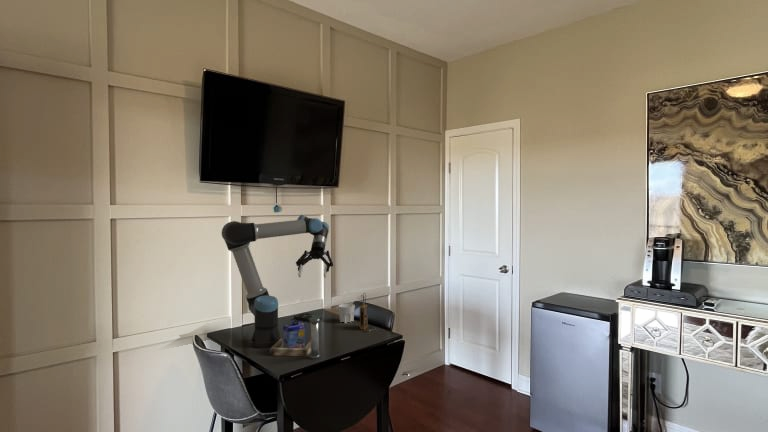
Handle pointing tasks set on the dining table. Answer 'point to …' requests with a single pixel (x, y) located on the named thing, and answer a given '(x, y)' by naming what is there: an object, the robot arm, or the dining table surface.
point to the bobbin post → (314, 338)
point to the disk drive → (306, 316)
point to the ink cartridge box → (294, 335)
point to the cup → (346, 312)
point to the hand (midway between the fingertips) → (311, 276)
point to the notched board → (289, 350)
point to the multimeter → (363, 315)
